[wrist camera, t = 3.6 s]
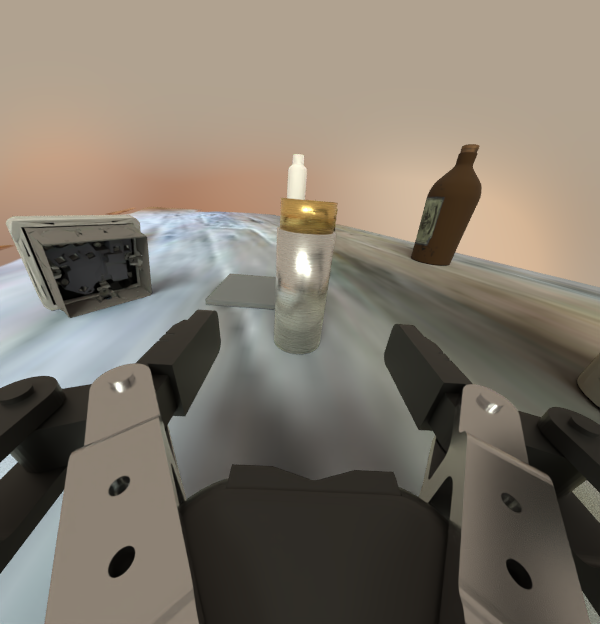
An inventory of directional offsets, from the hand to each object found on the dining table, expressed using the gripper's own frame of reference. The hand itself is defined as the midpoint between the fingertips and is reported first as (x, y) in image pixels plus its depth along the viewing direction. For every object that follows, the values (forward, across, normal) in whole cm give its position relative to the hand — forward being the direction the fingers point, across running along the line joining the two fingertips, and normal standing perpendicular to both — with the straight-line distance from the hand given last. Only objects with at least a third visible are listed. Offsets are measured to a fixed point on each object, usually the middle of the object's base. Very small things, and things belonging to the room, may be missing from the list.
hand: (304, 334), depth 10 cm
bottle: (+103, +3, +7) cm, 103 cm away
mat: (+20, +6, +6) cm, 22 cm away
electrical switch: (+14, +21, +7) cm, 26 cm away
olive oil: (+50, -35, +7) cm, 61 cm away
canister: (+9, 0, +7) cm, 11 cm away
